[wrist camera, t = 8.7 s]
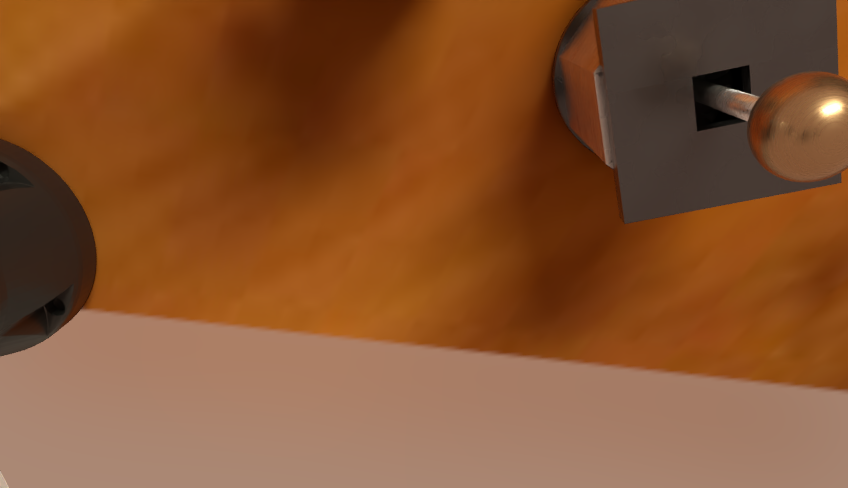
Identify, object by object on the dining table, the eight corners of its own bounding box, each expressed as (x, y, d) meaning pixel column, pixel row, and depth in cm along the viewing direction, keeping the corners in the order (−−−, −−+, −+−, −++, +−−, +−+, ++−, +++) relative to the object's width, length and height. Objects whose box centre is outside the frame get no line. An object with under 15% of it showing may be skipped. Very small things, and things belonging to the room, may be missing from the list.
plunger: (596, 157, 41) (712, 281, 23) (577, 20, 39) (689, 31, 20) (733, 130, 40) (971, 234, 22) (722, -13, 38) (979, -32, 19)
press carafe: (566, 178, 45) (609, 243, 32) (531, -49, 40) (565, -73, 28) (745, 142, 43) (860, 196, 31) (728, -95, 39) (853, -142, 27)
